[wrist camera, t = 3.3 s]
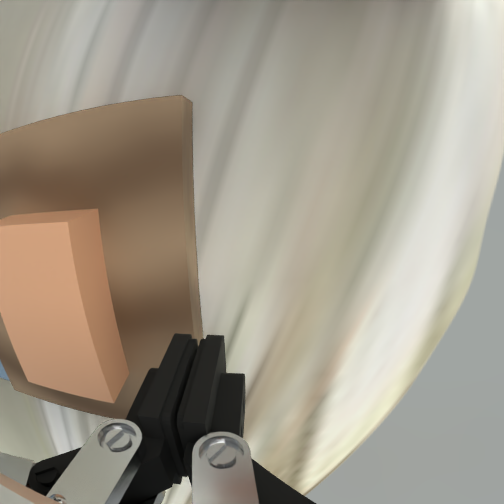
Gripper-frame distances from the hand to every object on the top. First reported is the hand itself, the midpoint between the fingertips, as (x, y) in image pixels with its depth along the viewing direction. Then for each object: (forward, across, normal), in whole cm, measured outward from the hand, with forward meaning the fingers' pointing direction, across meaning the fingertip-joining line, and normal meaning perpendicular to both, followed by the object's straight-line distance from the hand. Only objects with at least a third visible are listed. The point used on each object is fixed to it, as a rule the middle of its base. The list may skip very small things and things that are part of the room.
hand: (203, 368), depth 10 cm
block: (+3, +8, -1) cm, 8 cm away
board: (+6, +9, -1) cm, 11 cm away
